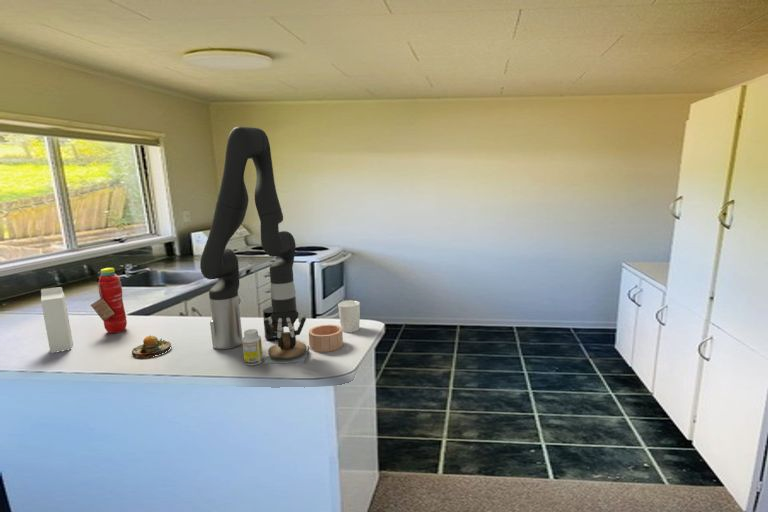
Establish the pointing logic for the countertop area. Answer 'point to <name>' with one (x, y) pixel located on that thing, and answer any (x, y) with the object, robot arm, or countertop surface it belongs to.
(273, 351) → the lid
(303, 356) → the mat
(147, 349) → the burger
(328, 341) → the bowl
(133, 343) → the countertop surface
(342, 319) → the white cup
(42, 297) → the milk
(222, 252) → the robot arm
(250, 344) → the supplement bottle
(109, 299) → the water bottle
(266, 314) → the supplement container
